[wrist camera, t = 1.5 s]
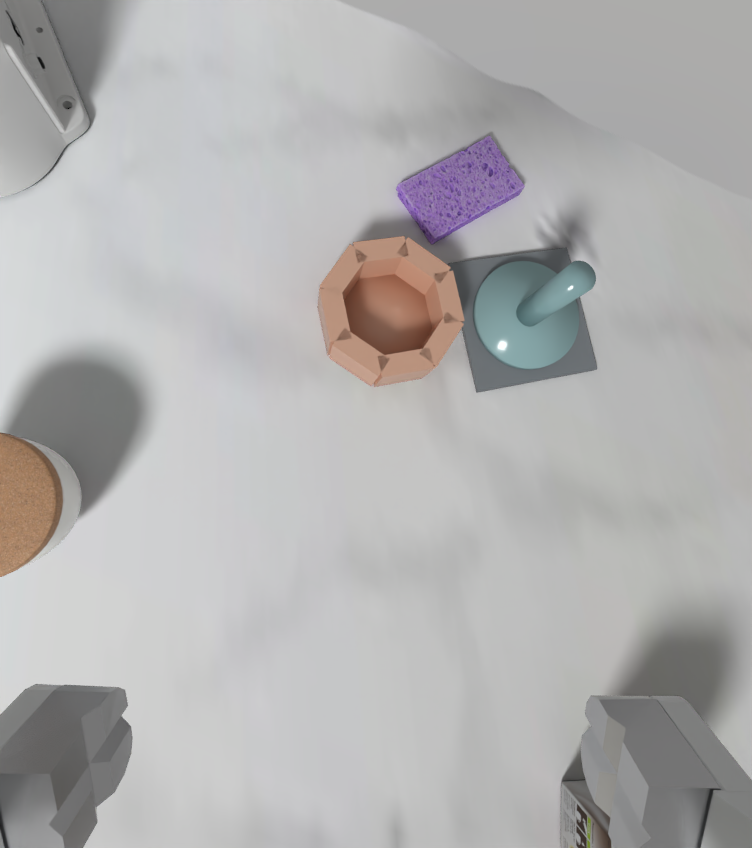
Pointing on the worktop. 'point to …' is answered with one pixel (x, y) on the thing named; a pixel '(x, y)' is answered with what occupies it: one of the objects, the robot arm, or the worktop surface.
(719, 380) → the worktop surface
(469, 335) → the mat
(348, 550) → the worktop surface
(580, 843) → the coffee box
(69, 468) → the lidded jar
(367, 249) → the bowl
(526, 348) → the lid
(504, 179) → the sponges
